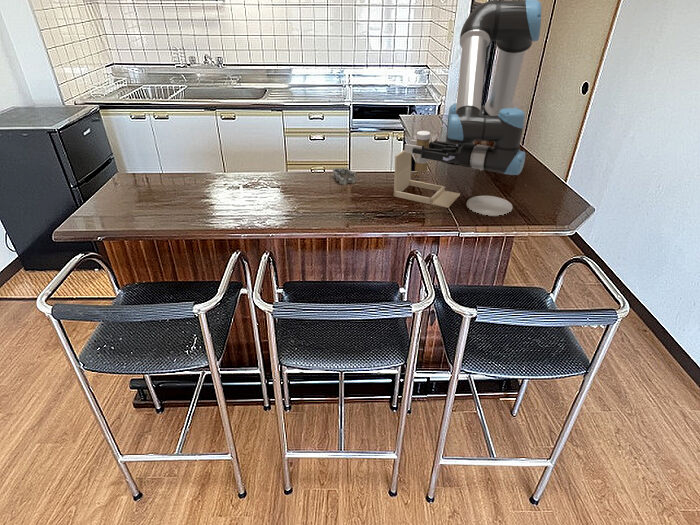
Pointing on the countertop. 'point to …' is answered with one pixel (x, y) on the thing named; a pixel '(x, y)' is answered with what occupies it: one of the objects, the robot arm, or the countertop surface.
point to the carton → (418, 184)
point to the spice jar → (423, 140)
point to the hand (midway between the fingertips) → (408, 145)
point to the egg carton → (344, 175)
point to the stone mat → (489, 205)
